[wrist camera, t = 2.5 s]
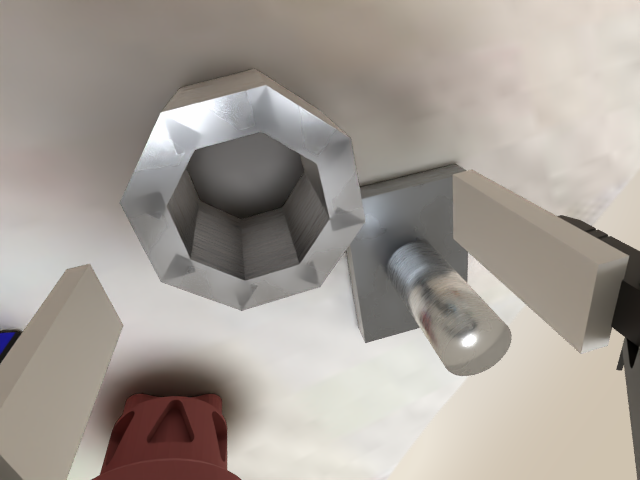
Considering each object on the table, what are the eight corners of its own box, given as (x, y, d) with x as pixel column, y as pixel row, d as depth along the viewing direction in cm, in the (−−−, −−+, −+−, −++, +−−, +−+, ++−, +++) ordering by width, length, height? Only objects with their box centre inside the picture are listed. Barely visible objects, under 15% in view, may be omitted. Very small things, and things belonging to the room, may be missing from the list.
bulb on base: (336, 193, 22) (392, 277, 14) (455, 163, 22) (566, 230, 15) (358, 327, 27) (408, 441, 19) (455, 300, 27) (538, 400, 20)
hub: (125, 101, 18) (83, 133, 12) (306, 54, 18) (338, 65, 13) (194, 256, 22) (184, 328, 17) (340, 214, 22) (374, 270, 17)
